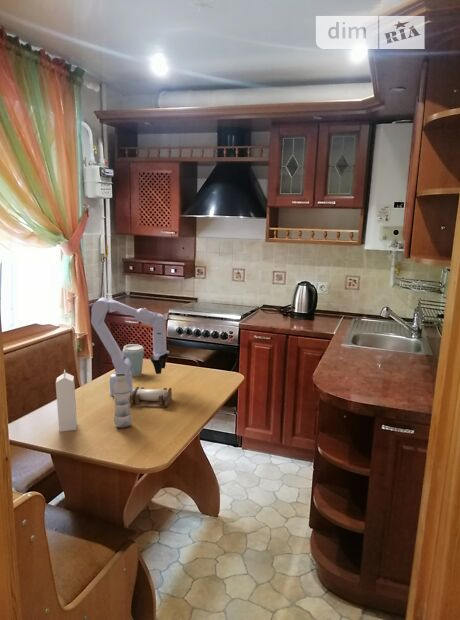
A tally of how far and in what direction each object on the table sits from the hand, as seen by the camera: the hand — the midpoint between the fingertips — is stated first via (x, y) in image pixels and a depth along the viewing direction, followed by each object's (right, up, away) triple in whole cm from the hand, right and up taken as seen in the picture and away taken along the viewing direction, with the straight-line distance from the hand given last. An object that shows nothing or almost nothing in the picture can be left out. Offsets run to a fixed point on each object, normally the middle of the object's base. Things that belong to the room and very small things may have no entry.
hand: (160, 370), depth 202 cm
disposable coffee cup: (-17, -6, +25) cm, 31 cm away
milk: (-29, -17, -34) cm, 48 cm away
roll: (-2, -11, -11) cm, 16 cm away
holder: (-2, -12, -11) cm, 16 cm away
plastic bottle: (-9, -16, -33) cm, 38 cm away
